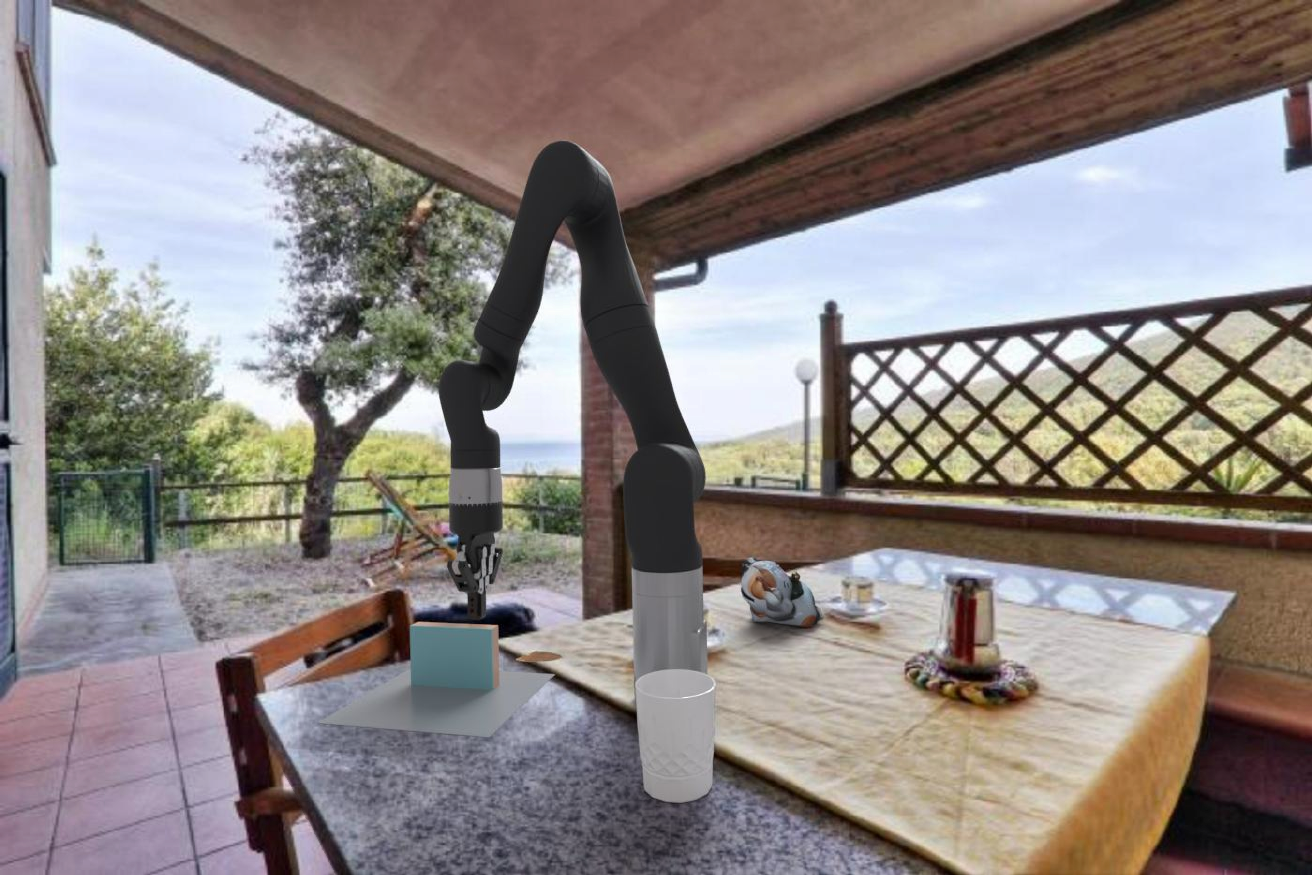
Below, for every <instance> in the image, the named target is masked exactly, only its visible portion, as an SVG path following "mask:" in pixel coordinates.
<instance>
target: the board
mask: <svg viewBox="0 0 1312 875" xmlns="http://www.w3.org/2000/svg"><path fill="white" fill-rule="evenodd" d="M555 675H556V674H555V673H538V672H526V671H525V672H522V671H507V670H506V671H503V670H499V685H498V686H497V687H496V688H495V689H494V690H482V689H467V688H452V687H436V686H421V685H411V667H410V668H408V669H406V670H405V671H403V672H401V673H400V674H398V675H395V677H393V678H391V679H390V680H388V681H386V682H384V683H383V684H381V685H379V686H378V687H376V688H375V689H372V690H370V691H369V692H367V693H366V694H363V696H360V697H359V698H357V699H356V700H354V701H352V702H350V703H348V704H346V705H345V706H343V707H342V708H340V709H338V710H336V711H334V712H333V713H331V714H329V715H328V716H327V717H325V718H323V719H321V720H320V721H318V722H317V724H319V725H320V724H322V725H333V726H334V725H335V726H343V727H344V726H346V727H356V728H357V727H358V728H366V729H367V728H370V729H380V730H392V731H393V730H394V731H405V732H416V733H417V732H419V733H428V734H429V733H430V734H441V735H453V736H454V735H455V736H465V737H477V738H490V737H491V736H492V735H493V734H494V733H496V732H497V730H498V729H500V728H501V726H503V725H504V724H505V723H506V722H507V721H508V720H509V719H510V718H512V716H513V715H514V714H515V713H516V712H518V711H519V710H520V709H521V707H523V706H524V705H525V704H526V703H527V702H528V701H529V700H530V699H531V698H532V697H533V696H534V695H535V694H536V693H538V691H539V690H541V689H542V688H543V687H544V686H545V685H546V684H547V683H548V682H549V681H550V680H551V679H552V678H553V677H554V676H555Z"/></svg>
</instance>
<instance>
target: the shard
mask: <svg viewBox="0 0 1312 875" xmlns="http://www.w3.org/2000/svg"><path fill="white" fill-rule="evenodd" d="M563 658H564V656H563V655H561V654H560V653H556V652H555V653H554V652H552V651H540V650H539V651H538V650H536V651H533V652H530V653H528V654H523V655H521V656H519V657H517V658H516V659H515V660H516V661H519V662H525V663H535V662H536V663H537V662H538V663H540V662H552V661H557V660H560V659H563Z"/></svg>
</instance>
